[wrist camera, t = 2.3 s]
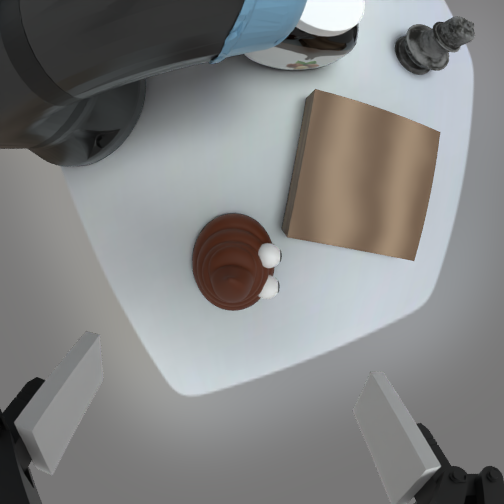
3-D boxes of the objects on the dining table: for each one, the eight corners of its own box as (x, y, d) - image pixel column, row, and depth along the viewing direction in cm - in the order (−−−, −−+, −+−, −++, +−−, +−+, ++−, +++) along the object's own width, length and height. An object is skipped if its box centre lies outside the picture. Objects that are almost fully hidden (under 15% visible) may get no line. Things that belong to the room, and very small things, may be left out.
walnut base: (281, 228, 32) (287, 237, 28) (306, 98, 29) (315, 89, 25) (397, 251, 33) (414, 260, 30) (421, 134, 30) (440, 132, 26)
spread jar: (232, 68, 27) (251, 25, 16) (236, -19, 23) (254, -81, 12) (344, 80, 29) (407, 56, 18) (340, -3, 25) (392, -46, 14)
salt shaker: (437, 79, 28) (501, 57, 17) (398, 74, 28) (459, 45, 17) (427, 37, 27) (484, 5, 15) (388, 31, 27) (440, -11, 15)
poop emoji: (195, 211, 32) (177, 228, 23) (278, 213, 32) (292, 231, 23) (196, 301, 34) (182, 345, 25) (272, 303, 35) (283, 347, 26)
